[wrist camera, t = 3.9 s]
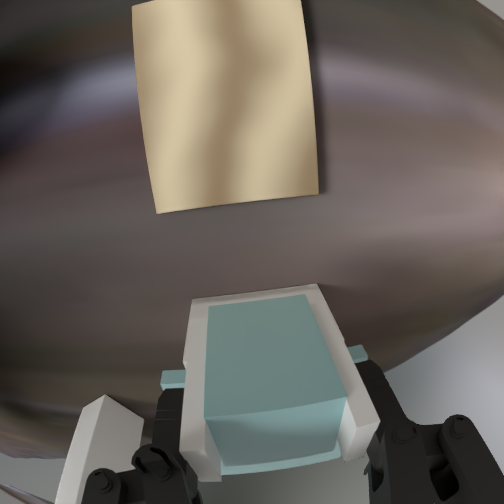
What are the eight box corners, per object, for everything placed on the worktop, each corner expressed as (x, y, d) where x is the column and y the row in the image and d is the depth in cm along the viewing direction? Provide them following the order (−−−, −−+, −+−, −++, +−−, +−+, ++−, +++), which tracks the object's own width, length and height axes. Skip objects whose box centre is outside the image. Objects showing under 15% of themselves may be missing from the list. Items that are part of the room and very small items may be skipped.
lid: (209, 465, 20) (210, 525, 15) (140, 312, 13) (106, 416, 8) (337, 448, 21) (354, 505, 15) (370, 283, 14) (434, 370, 8)
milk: (83, 406, 29) (42, 555, 9) (105, 393, 28) (63, 566, 8) (120, 430, 32) (95, 573, 12) (146, 419, 30) (124, 583, 10)
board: (159, 210, 20) (156, 213, 20) (135, 9, 14) (131, 6, 13) (315, 191, 21) (318, 194, 20) (295, -9, 14) (298, -13, 14)
